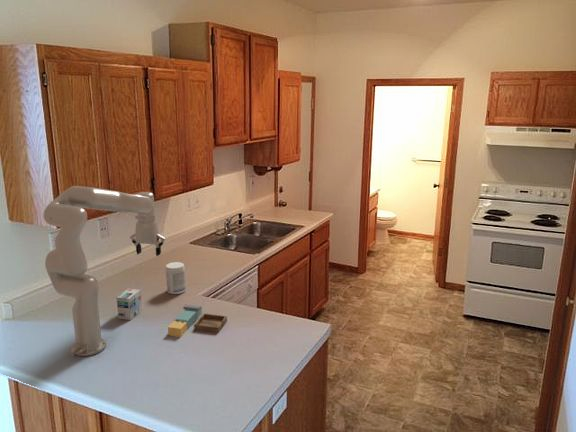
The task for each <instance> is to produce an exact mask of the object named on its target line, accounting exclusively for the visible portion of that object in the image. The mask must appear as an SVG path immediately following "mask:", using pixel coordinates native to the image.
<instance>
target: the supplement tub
mask: <svg viewBox="0 0 576 432" xmlns="http://www.w3.org/2000/svg"><path fill="white" fill-rule="evenodd" d="M165 276H166V291H167V293H168V294H170V295H180V294H183V293H184V292H186V290H187V287H186V284H187V283H186V269H185V264H184V263H183V262H180V261H175V262H174V261H173V262H169V263H168V264H166V265H165Z"/></svg>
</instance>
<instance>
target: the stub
mask: <svg viewBox="0 0 576 432" xmlns="http://www.w3.org/2000/svg"><path fill="white" fill-rule="evenodd" d="M187 331H188V330H187V322H180V321H175V320H174V321H173V322H172V323H170V325H168V326H167V335H168V336H171V337H178V338H179V337H180V338H181V337H183V335H184V334H186V332H187Z"/></svg>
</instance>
